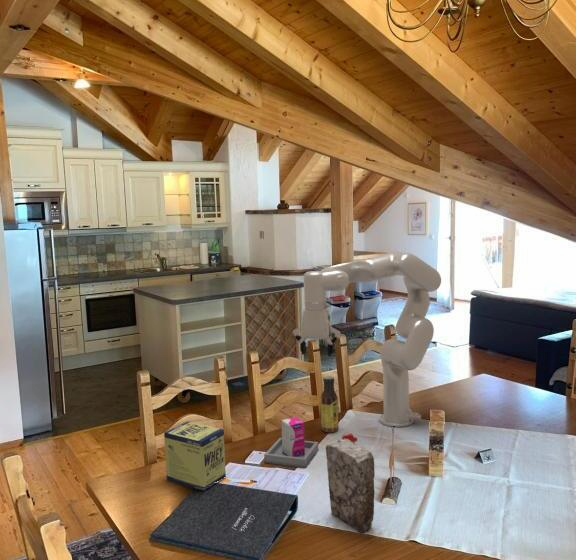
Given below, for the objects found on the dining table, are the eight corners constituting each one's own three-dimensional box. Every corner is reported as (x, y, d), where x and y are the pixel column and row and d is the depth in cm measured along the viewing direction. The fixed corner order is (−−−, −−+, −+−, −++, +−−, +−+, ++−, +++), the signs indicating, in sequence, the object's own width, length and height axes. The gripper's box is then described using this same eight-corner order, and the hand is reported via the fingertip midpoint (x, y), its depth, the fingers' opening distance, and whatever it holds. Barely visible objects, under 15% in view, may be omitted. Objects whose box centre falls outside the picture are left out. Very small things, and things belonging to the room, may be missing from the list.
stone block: (324, 515, 147) (322, 442, 144) (343, 505, 151) (341, 435, 149) (361, 536, 136) (359, 458, 134) (380, 525, 141) (379, 450, 138)
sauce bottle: (337, 433, 200) (336, 380, 198) (320, 433, 202) (318, 380, 199) (339, 427, 207) (338, 375, 205) (322, 426, 208) (321, 375, 206)
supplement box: (290, 459, 179) (288, 425, 178) (281, 452, 184) (280, 419, 183) (305, 455, 182) (304, 421, 180) (297, 448, 187) (296, 416, 186)
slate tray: (318, 450, 187) (318, 442, 187) (305, 468, 174) (305, 459, 174) (280, 445, 192) (279, 437, 192) (264, 462, 179) (264, 454, 179)
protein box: (204, 492, 161) (202, 441, 159) (165, 480, 169) (162, 431, 168) (227, 477, 170) (224, 428, 168) (189, 466, 178) (186, 420, 176)
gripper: (342, 305, 194) (343, 353, 196) (295, 304, 200) (297, 350, 202) (336, 308, 187) (337, 358, 189) (288, 307, 193) (290, 355, 195)
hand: (316, 354), depth 195 cm, fingers open, 9 cm apart
